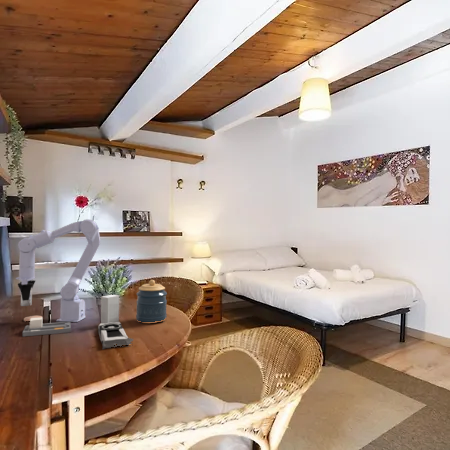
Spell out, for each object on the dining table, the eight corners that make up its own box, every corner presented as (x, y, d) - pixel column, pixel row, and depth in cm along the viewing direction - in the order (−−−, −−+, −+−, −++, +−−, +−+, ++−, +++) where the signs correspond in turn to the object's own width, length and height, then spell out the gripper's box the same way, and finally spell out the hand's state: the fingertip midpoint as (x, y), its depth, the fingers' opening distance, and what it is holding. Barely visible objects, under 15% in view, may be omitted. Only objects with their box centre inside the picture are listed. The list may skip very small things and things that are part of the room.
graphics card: (103, 341, 119) (97, 322, 142) (102, 351, 119) (97, 330, 142) (133, 338, 123) (123, 320, 146) (133, 348, 123) (123, 328, 146)
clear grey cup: (33, 304, 153) (34, 285, 153) (28, 306, 149) (28, 286, 149) (24, 303, 153) (25, 284, 153) (18, 305, 149) (19, 286, 149)
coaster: (45, 317, 158) (45, 315, 158) (36, 322, 151) (36, 320, 151) (30, 317, 158) (30, 315, 158) (20, 321, 151) (20, 319, 151)
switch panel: (22, 336, 131) (22, 330, 131) (25, 329, 140) (25, 324, 140) (70, 332, 138) (70, 326, 138) (70, 326, 146) (70, 320, 146)
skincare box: (111, 322, 152) (112, 294, 152) (118, 324, 150) (119, 295, 150) (100, 325, 147) (100, 296, 147) (107, 327, 145) (107, 297, 145)
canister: (144, 326, 147) (145, 283, 147) (130, 319, 157) (131, 279, 157) (172, 321, 156) (172, 280, 156) (157, 315, 166) (158, 276, 166)
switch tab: (29, 329, 135) (29, 320, 135) (30, 326, 138) (30, 318, 138) (41, 328, 136) (41, 319, 136) (42, 325, 140) (42, 317, 140)
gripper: (19, 265, 156) (18, 296, 156) (13, 269, 143) (12, 303, 143) (37, 264, 159) (36, 295, 159) (33, 268, 146) (32, 302, 146)
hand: (26, 299), depth 151 cm, fingers closed on clear grey cup, 4 cm apart
